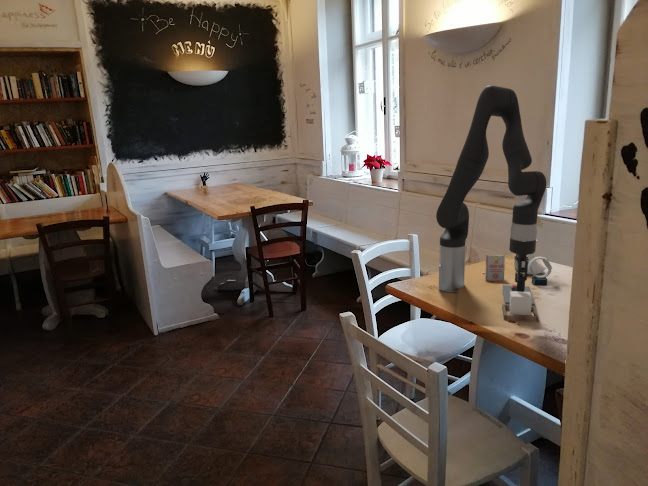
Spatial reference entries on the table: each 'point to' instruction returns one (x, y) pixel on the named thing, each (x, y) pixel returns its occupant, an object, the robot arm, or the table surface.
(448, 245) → the robot arm
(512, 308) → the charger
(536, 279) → the watch
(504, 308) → the tray
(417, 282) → the table surface
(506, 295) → the power strip
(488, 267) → the tea box
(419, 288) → the table surface
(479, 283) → the table surface
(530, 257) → the flower in vase
